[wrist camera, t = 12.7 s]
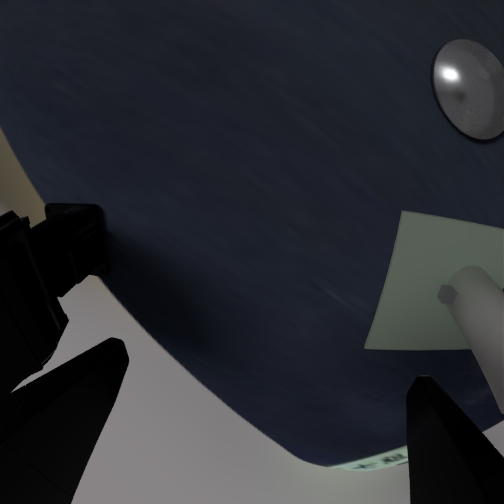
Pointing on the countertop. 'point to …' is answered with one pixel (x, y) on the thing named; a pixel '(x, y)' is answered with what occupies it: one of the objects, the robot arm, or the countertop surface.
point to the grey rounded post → (479, 321)
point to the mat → (430, 280)
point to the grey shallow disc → (469, 88)
